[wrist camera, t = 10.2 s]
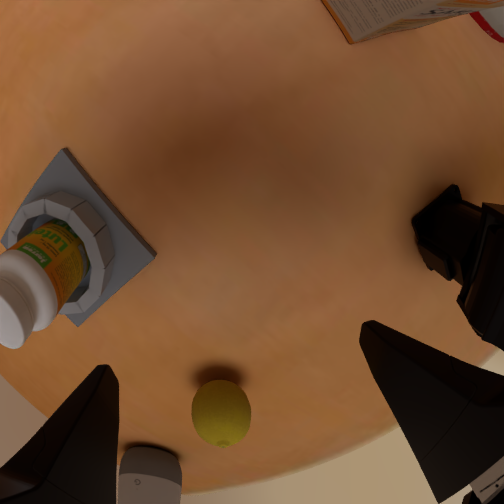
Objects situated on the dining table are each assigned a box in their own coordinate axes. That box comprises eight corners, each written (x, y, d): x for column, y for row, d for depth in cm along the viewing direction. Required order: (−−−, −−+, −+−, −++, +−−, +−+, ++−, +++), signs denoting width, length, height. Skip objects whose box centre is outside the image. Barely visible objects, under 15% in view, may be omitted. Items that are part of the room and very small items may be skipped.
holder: (66, 147, 17) (44, 152, 14) (156, 253, 21) (148, 273, 18) (5, 238, 18) (-15, 252, 15) (80, 322, 22) (68, 343, 20)
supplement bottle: (93, 220, 18) (20, 286, 9) (95, 284, 20) (44, 369, 11) (37, 213, 17) (-42, 267, 8) (43, 273, 19) (-17, 344, 10)
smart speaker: (136, 463, 35) (130, 531, 22) (113, 438, 31) (100, 517, 18) (188, 465, 36) (190, 537, 23) (172, 441, 32) (169, 528, 19)
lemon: (181, 379, 26) (177, 444, 19) (222, 355, 26) (227, 425, 18) (217, 402, 28) (220, 463, 21) (257, 382, 28) (268, 446, 20)
